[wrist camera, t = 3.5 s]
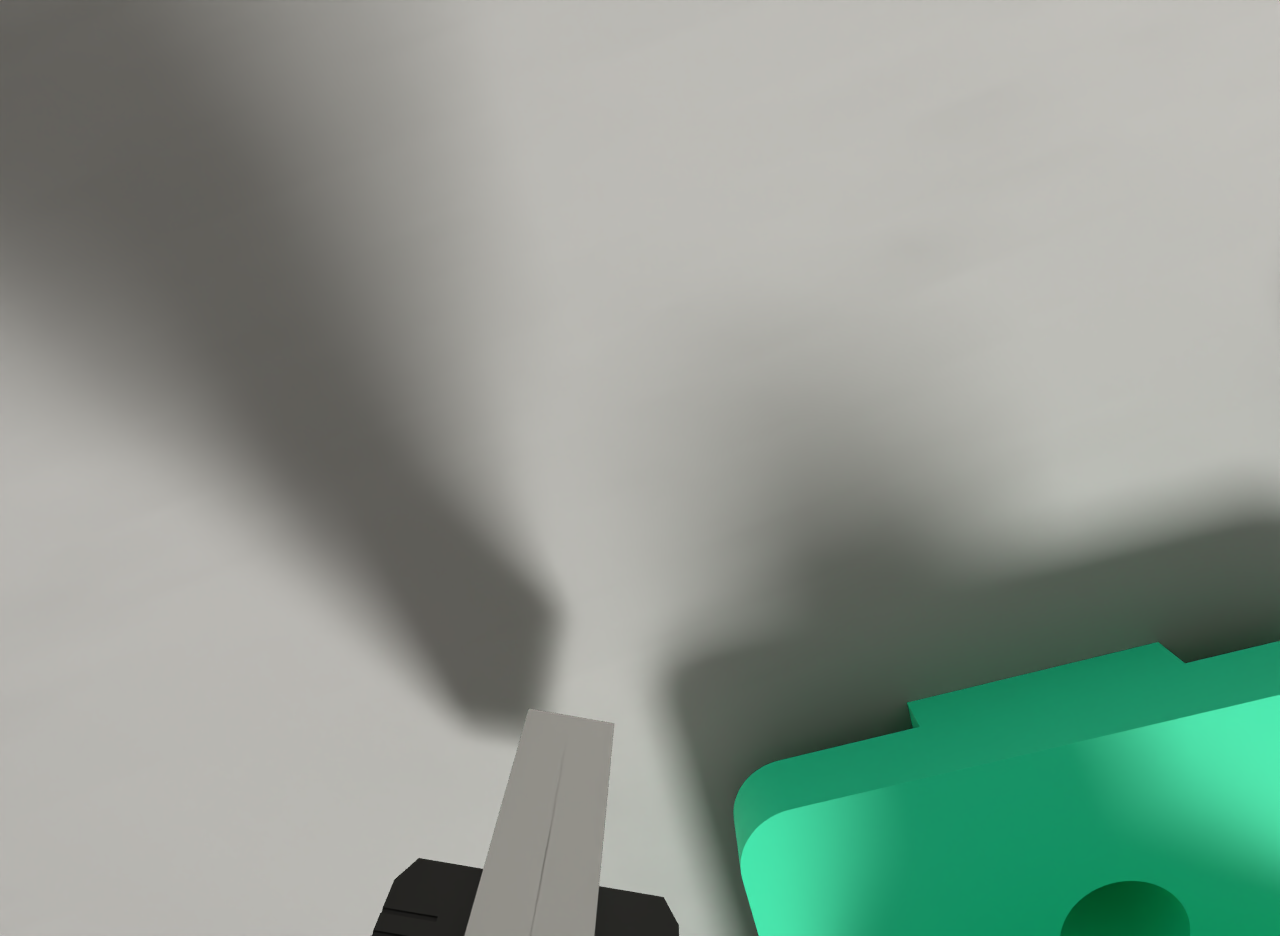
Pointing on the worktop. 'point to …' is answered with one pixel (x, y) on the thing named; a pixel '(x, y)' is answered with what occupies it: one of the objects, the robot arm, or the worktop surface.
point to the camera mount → (1036, 809)
